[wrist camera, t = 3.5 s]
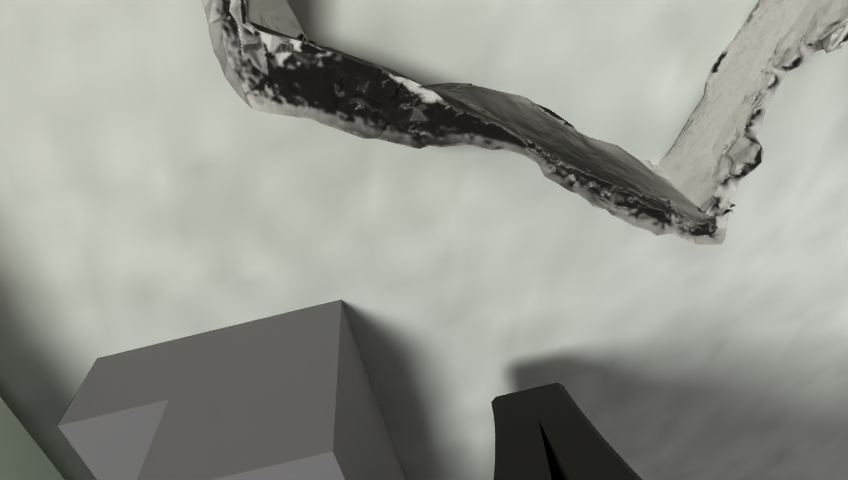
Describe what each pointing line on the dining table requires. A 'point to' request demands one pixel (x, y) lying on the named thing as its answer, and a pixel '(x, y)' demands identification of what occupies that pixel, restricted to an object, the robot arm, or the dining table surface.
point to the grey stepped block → (237, 406)
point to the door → (21, 452)
